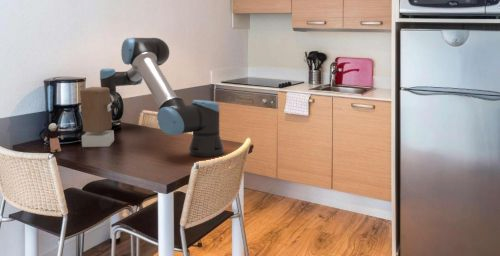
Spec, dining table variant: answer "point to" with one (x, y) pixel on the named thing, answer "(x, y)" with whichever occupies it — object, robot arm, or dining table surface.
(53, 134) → the grandmother figurine
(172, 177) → the dining table surface
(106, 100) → the wooden block
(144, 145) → the dining table surface
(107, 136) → the base brick
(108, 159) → the dining table surface
